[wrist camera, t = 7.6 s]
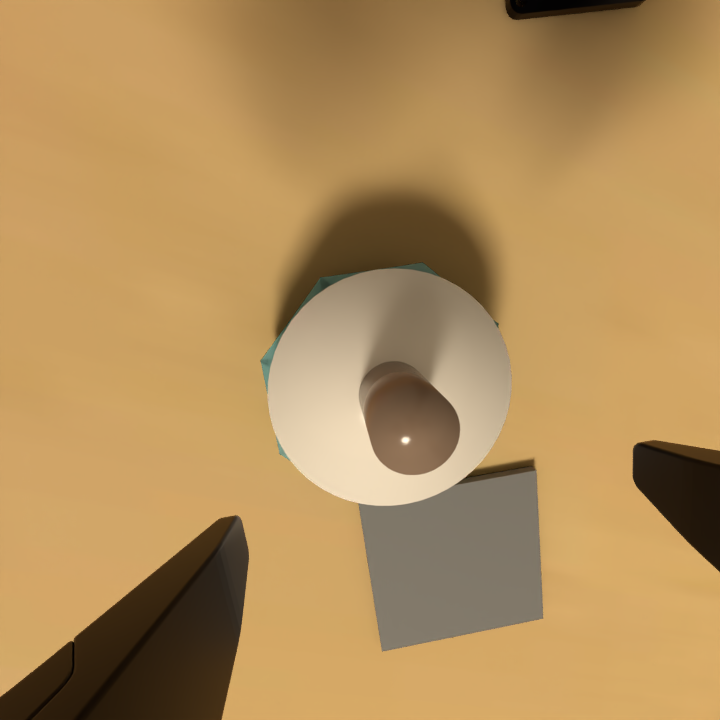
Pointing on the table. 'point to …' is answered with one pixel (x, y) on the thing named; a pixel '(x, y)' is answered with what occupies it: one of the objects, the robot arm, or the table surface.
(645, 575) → the table surface
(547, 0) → the robot arm
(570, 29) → the table surface
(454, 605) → the mat
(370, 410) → the lid
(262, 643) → the table surface
